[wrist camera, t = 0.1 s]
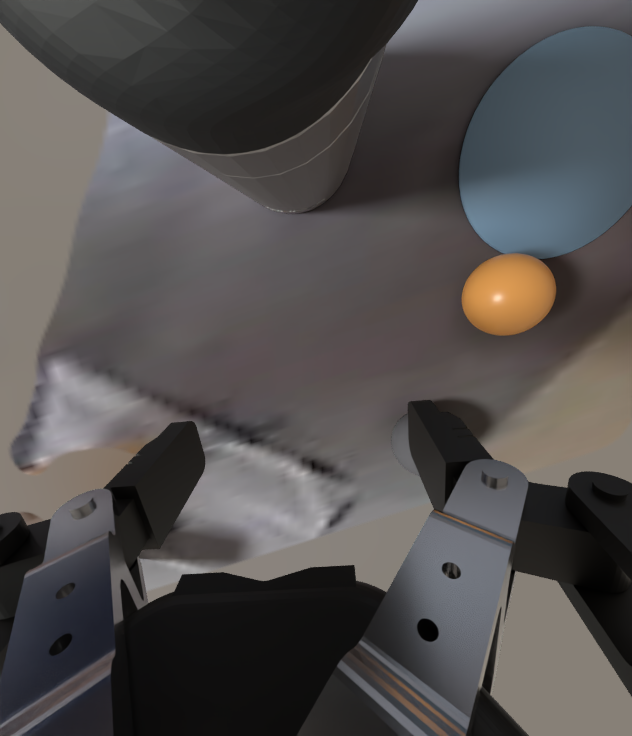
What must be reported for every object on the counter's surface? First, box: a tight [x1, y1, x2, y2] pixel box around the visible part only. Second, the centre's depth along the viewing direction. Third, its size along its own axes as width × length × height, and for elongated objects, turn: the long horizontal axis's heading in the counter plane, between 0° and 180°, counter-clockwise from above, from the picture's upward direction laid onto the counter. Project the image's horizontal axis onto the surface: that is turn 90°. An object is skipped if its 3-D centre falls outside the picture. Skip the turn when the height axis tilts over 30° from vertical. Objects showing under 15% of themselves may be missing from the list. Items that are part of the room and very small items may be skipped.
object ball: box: [462, 253, 556, 336], centre depth 23 cm, size 6×6×6 cm
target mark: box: [459, 26, 632, 259], centre depth 22 cm, size 14×14×1 cm
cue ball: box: [391, 414, 420, 476], centre depth 28 cm, size 6×6×6 cm
